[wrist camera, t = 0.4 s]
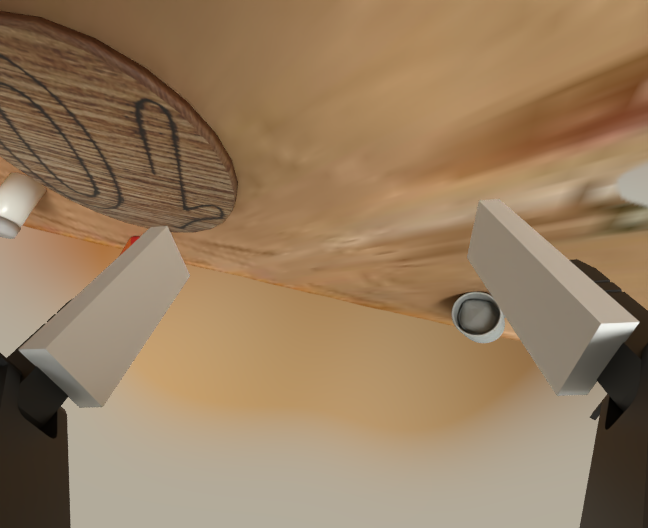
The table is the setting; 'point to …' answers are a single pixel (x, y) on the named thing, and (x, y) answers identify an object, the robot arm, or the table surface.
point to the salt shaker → (17, 202)
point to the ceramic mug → (478, 317)
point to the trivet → (107, 130)
